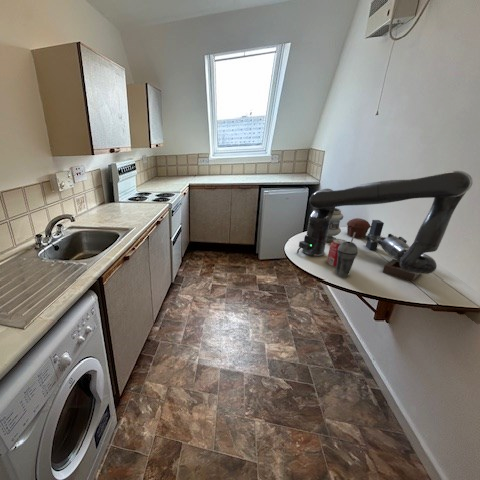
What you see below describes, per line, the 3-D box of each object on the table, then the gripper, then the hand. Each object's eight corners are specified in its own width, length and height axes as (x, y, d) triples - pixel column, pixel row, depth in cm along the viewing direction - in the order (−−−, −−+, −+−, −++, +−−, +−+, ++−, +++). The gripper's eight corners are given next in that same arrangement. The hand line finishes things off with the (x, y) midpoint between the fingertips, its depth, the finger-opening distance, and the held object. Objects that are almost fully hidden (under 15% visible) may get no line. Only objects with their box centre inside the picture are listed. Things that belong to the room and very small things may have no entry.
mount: (412, 281, 110) (415, 274, 108) (382, 272, 118) (384, 265, 116) (420, 273, 115) (422, 266, 114) (390, 265, 123) (393, 258, 122)
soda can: (345, 264, 126) (351, 240, 121) (341, 269, 121) (347, 245, 117) (328, 260, 131) (333, 237, 126) (324, 265, 126) (329, 241, 122)
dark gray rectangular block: (369, 249, 139) (377, 222, 134) (365, 246, 144) (372, 219, 138) (376, 250, 138) (384, 223, 133) (371, 246, 143) (379, 220, 137)
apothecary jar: (310, 236, 160) (315, 207, 154) (329, 234, 161) (335, 205, 154) (323, 243, 149) (329, 212, 142) (343, 242, 150) (350, 211, 143)
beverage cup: (328, 270, 121) (337, 229, 113) (345, 270, 120) (356, 229, 113) (337, 278, 114) (347, 235, 107) (355, 279, 113) (366, 235, 106)
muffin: (339, 233, 162) (343, 217, 158) (353, 230, 165) (357, 215, 161) (358, 240, 152) (362, 223, 148) (372, 237, 155) (377, 220, 151)
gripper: (417, 240, 116) (397, 228, 131) (379, 239, 120) (364, 227, 135) (412, 256, 119) (393, 242, 134) (375, 254, 123) (360, 241, 137)
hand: (378, 235), depth 134 cm, fingers open, 8 cm apart
